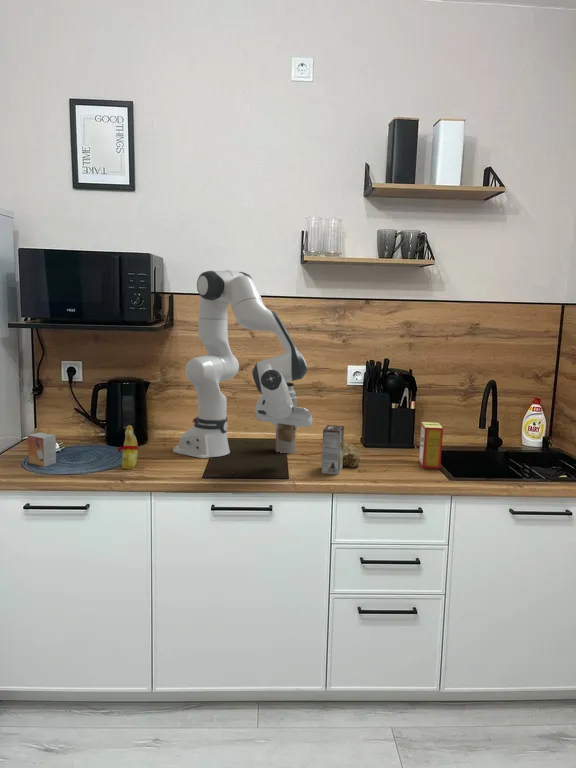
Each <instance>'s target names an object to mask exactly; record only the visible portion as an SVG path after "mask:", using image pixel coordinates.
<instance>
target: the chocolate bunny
mask: <svg viewBox="0 0 576 768" xmlns="http://www.w3.org/2000/svg"><path fill="white" fill-rule="evenodd" d="M124 434H125V436H124V441H123V446H121V445H120V446H119V447H118V448H117V453H116V454H119V453H120V452H121V451H122V457H121V468H122V469H123V470H124V469H125V470H131V469H132V470H133V469H134V468H135V465H136V464H137V462H138V450H139V446H138V440H137V437H136V434H135V430H134V427H133V426H132V425H130V424H128V425H127V426H126V428H125V432H124Z"/></svg>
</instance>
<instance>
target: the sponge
mask: <svg viewBox="0 0 576 768" xmlns="http://www.w3.org/2000/svg"><path fill="white" fill-rule="evenodd" d="M360 462H361V452H360V450H359V449H358V447H357V446H356V447H355V446H354V445H353V444H352V443H349V442H346V441H344V444H343V467H350V468H355V467H357V466H358V465H359V463H360Z"/></svg>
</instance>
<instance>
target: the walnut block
mask: <svg viewBox="0 0 576 768" xmlns="http://www.w3.org/2000/svg"><path fill="white" fill-rule="evenodd" d="M293 426H294V425H287V424H280V423H279V425H278V440H279V441H286V442H292V441H293V440H294V439H295V431H296V432H297V430H293Z"/></svg>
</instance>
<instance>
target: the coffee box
mask: <svg viewBox="0 0 576 768" xmlns="http://www.w3.org/2000/svg"><path fill="white" fill-rule="evenodd" d="M322 430H323V431H322V453H321V456H322V457H321V473H322V474H326V475H329V474H330V475H335V476H338V475H340V472H341V471H342V469H343V467H344V466H343V444H344V442H345V441H344V440H345V439H344V437H345V425H335V424H327V425H326V427H324V429H322Z"/></svg>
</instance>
